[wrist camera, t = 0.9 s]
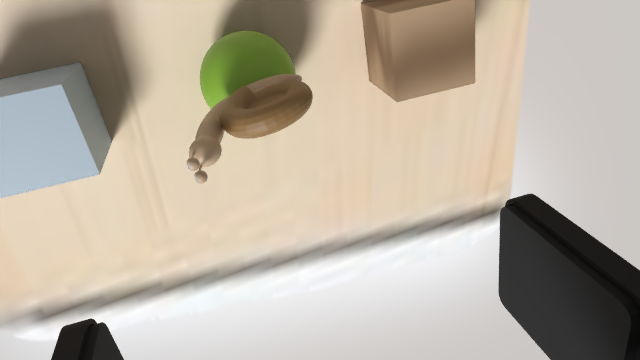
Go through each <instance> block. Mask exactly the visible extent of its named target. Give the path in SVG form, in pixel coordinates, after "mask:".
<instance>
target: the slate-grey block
mask: <svg viewBox="0 0 640 360" xmlns="http://www.w3.org/2000/svg"><path fill="white" fill-rule="evenodd" d="M111 143H112V140H111V137H110V135H109V132H108V130H107V127H106V125H105V122H104V120H103V117H102V115H101V112H100V110H99V107H98V105H97V102H96V99H95V97H94V94H93V92H92V89H91V87H90V84H89V82H88V79H87V77H86V74H85V72H84V69H83V67H82V64H81V62H79V63H75V64H70V65H65V66H60V67H55V68H51V69H46V70H41V71H36V72H32V73H27V74H22V75H17V76H12V77H8V78H3V79H0V197H1V198H4V197H8V196H12V195H16V194H21V193H25V192H29V191H33V190H37V189H41V188H45V187H49V186H54V185H58V184H62V183H66V182H70V181H74V180H78V179H82V178H87V177H91V176H95V175H99V174H100V172H101V170H102V167H103V164H104V161H105V159H106V156H107V153H108V151H109V148H110V145H111Z"/></svg>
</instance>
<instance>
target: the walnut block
mask: <svg viewBox="0 0 640 360" xmlns="http://www.w3.org/2000/svg"><path fill="white" fill-rule="evenodd" d="M361 10H362V19H363V28H364V37H365V46H366V55H367V63H368V72H369V81H370V82H372V83H373V84H374V85H376V86H377V87H378V88H379V89H381V90H382V91H383V92H385V93H386V94H387V95H389V96H390V97H391V98H392V99H394V100H395V101H396V102H400V101H404V100H408V99H412V98H416V97H420V96H424V95H428V94H432V93H437V92H441V91H445V90H449V89H453V88H457V87H461V86H465V85H470V84H474V83H475V0H375V1H370V2H366V3H361Z"/></svg>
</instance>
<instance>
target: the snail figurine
mask: <svg viewBox="0 0 640 360" xmlns="http://www.w3.org/2000/svg"><path fill="white" fill-rule="evenodd" d="M301 80H302V77H301V76H299V75H296V74H295V69H294V65H293V62H292V60H291V58H290V56H289V54H288V53H287V51H286V50H285V49H284V48H283V46H282V45H281V44H279V43H278V42H277V41H276V40H274V39H273V38H271V37H270V36H268V35H265V34H263V33H260V32H256V31H237V32H233V33H230V34H228V35H226V36H224V37H222V38H220V39H219V40H218V41H216V42H215V43H214V44H213V45H212V46H211V48H210V49H209V50H208V52H207V53H206V55H205V57H204V59H203V62H202V65H201V70H200V85H201V90H202V93H203V96H204V98H205V100H206V102H207V104H208V105H209V107H210V108H211V110H210V112H209V113H208V114H207V115H206V116H205V118H204V119H203V121H202V122H201V124H200V126H199V128H198V131H197V134H196V139H195V141H194V142H193V143H192V144H191V146H190V151H189V159H188V160H187V166H188V168H189V169H190V170H192V171H195V170H197V169H198V168H199V171H197V172H196V173H195V179H196V181H197V182H198V183H201V184H202V183H205V182H206V181H207V174H206V173H205V172H204V171H201V167H207V166H211V165H213V164H214V163H215V162H217V160H218V159H219V158H220V155H221V145H220V142H221V140H222V137H223V134H224V131H226V132H227V133H229V134H230V135H232V136H234V137H237V138H257V137H262V136H266V135H269V134H272V133H275V132H277V131H280V130H282V129H284V128H286V127H288V126H289V125H291V124H293V123H294V122H296V121H297V120H298V119H300V118H301V117H302V116H303V115H304V114H305V113H306V112H307V110H308V109H309V108H310V106H311V103H312V97H313V96H312V91H311V89H310V88H309V86H308V85H307V84H305V83H303V82H301ZM199 166H200V167H199Z"/></svg>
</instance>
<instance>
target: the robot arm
mask: <svg viewBox="0 0 640 360" xmlns="http://www.w3.org/2000/svg"><path fill="white" fill-rule="evenodd" d="M499 250H500V252H499V297H500V299H501V302H502V304H503V305H504V307H505V308H506V309H507V310H508V311H509V312H510V313H511V315H512V316H513V317H514V318H515V319H516V321H517V322H518V323H519V324H520V325H521V326H522V327H523V329H524V330H525V331H526V332H527V333H528V334H529V335H530V337H531V338H532V339H533V340H534V341H535V342H536V343H537V345H538V346H539V347H540V348H541V349H542V350H543V351H544V353H546V355H547V356H548V357H549V358H550V359H551V360H640V270H638V269H637V268H636V267H634V266H633V265H631V264H630V263H629V262H627V261H626V260H624V259H623V258H622V257H620V256H619V255H617V254H616V253H615V252H613V251H612V250H611V249H609V248H608V247H606V246H605V245H604V244H602V243H601V242H599V241H598V240H596V239H595V238H594V237H592V236H591V235H590V234H588V233H587V232H586V231H584V230H583V229H581V228H580V227H579V226H577V225H576V224H574V223H573V222H572V221H570V220H569V219H568V218H566V217H565V216H563V215H562V214H561V213H559V212H558V211H556V210H555V209H554V208H552V207H551V206H550V205H548V204H546V203H545V202H544V201H542V200H541V199H540V198H538V197H537V196H536V195H534V194H527V195H523V196H520V197H517V198H513V199H509V200H508V201H507V202H506V204H505V207H503V208H502V209H501V212H500V249H499ZM51 360H124V359H123V357H122V355H121V353H120V351H119V349H118V347H117V345H116V343H115V341H114V339H113V337H112V335H111V333H110V331H109V329H108V327H107V326H106V324H105V323H103V322H102V323H98V324H97V323H96V321H95V320H94V319H88V320H84V321H80V322H77V323H73V324H70V325H66V326H64V327H63V328H62V329H61V331H60V334H59V337H58V340H57V343H56V347H55V349H54V353H53V356H52V359H51Z"/></svg>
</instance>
